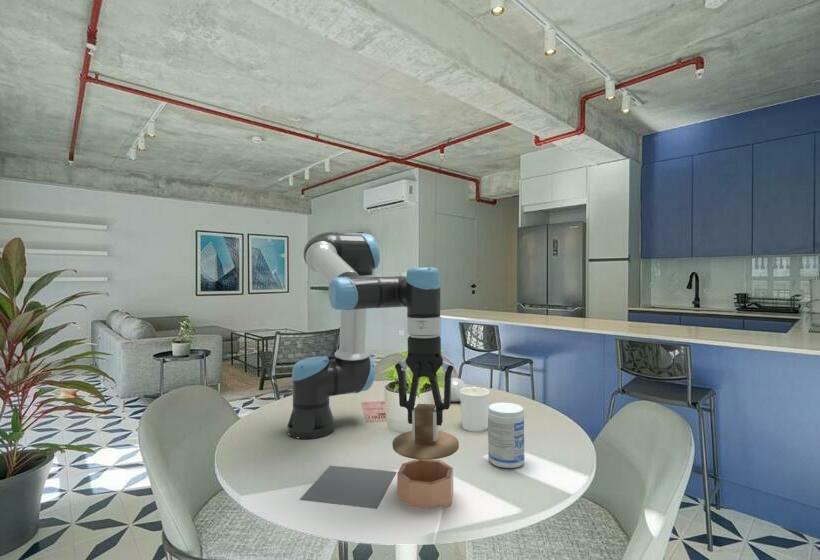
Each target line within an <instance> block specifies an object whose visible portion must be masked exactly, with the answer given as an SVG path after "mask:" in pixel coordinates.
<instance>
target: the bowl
mask: <svg viewBox="0 0 820 560" xmlns="http://www.w3.org/2000/svg"><path fill="white" fill-rule="evenodd" d="M396 474H397V478H396V479H397V480H396V482H397V485H396V486H397V490H396V491H397V497H399V499H401V500H402V501H403V502H404V503H406V504H407V505H408V506H409V507H417V508H425V509H434V508H437V507H439V506H442V507H441V510H442V509H445V508H448V507H451V505H452V502H453V499H454V498H453V497H454V467H452V466H450V465H449V464H447V463H446V462H444V461H443V460H440V459H433V460H419V459H412V460H411V461H407V462H403V463H402V464H401V466H400V468H399V469H398V471H397V473H396Z"/></svg>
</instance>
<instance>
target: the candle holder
mask: <svg viewBox="0 0 820 560" xmlns="http://www.w3.org/2000/svg"><path fill="white" fill-rule="evenodd" d="M490 395H491V394H490V390H489V389H487V388H484V387H482V388H481V387H479V386H478V387H474V386H468V387H467V388H463V389H461V390H460V402H459V403H460V411H461V412H460V414H461V427H462V429H463V430H465V431H468V432H475V433H476V432H478V433H479V432H484V431H486V430H488V408H489V405H490Z"/></svg>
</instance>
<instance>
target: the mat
mask: <svg viewBox="0 0 820 560" xmlns="http://www.w3.org/2000/svg"><path fill="white" fill-rule="evenodd" d="M397 473H398V471H392V470H381V469H370V468H363V467H362V468H361V467H350V466H341V465H340V466H338V465H329V466H328V467H327V468H326V469H325V471H324V472H322V474H321V475H320V476H319V477H318V478H317V480H316V481H314V483H312V485H311V486H310V487H309V488H308V489H307V490H306V492H305V493H303V495H301V497H300V498H299V501H307V502H315V503H322V504H332V505H333V504H335V505H341V506H349V507H358V508H359V507H360V508H367V509H376V510H377V509H378V508H379V506H380V504H381V502H382V501H383V499H384V497H385V494H386V493H387V491H388V489H389V487H390V485H391V483H392V482H393V480H394V478H395V476H396V474H397Z"/></svg>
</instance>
